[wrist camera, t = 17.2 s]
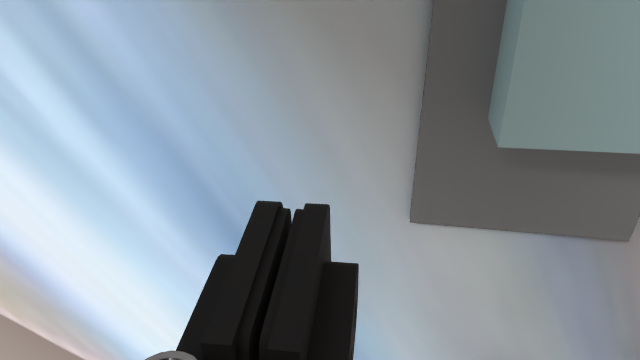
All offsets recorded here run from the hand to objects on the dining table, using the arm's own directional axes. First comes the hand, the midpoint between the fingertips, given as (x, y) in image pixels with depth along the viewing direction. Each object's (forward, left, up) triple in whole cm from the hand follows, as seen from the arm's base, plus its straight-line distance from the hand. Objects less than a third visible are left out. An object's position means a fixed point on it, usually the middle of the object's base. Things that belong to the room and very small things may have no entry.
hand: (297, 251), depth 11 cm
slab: (-2, +6, -11) cm, 13 cm away
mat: (+2, +9, -14) cm, 16 cm away
